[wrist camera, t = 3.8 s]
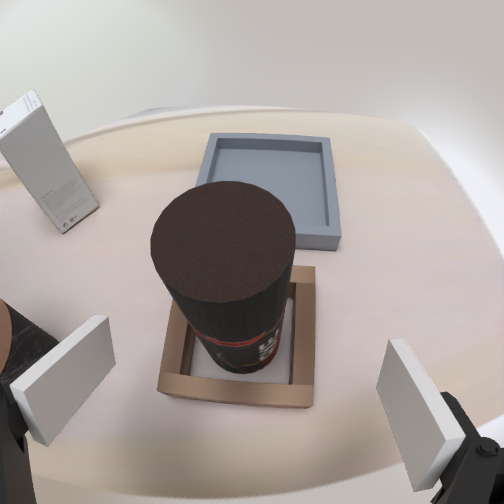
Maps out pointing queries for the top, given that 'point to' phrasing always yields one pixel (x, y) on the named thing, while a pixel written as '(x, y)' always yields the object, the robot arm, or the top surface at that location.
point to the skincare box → (44, 162)
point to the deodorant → (228, 268)
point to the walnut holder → (236, 392)
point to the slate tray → (282, 178)
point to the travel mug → (20, 342)
